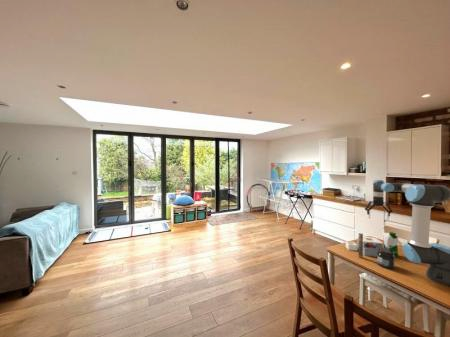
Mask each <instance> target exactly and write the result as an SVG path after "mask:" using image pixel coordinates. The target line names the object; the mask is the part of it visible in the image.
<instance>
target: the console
mask: <svg viewBox="0 0 450 337" xmlns="http://www.w3.org/2000/svg"><path fill="white" fill-rule="evenodd" d="M366 243H373V247H367V246H366ZM356 245H357V250H359V235H358V236H357V241H356ZM378 248H384V242H382V241H381V240H379V239H378V238H376V237H370V236H369V237H368V236H363V256H368V257H375V258H376V257H377V252H378Z"/></svg>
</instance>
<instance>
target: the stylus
mask: <svg viewBox="0 0 450 337" xmlns="http://www.w3.org/2000/svg"><path fill="white" fill-rule="evenodd" d="M358 236H359V249H358V258H359V259H363V256H364V254H363V237H364V234H363V233H358Z"/></svg>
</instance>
